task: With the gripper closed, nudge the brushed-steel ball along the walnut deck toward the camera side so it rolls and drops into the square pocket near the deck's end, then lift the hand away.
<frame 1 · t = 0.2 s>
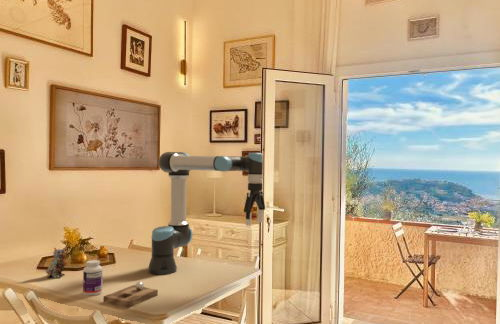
hand: (254, 223, 214), 28 cm above the table, fingers open, 13 cm apart
ball: (139, 289, 184), point 2 cm above the table, touching deck
figurine: (56, 276, 212), on the table
deck: (131, 298, 180), on the table
pill bottle: (92, 293, 186), on the table
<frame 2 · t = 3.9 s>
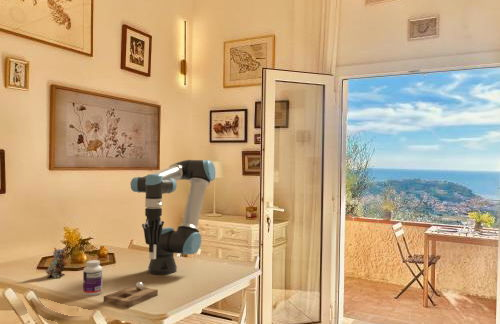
hand: (152, 258, 192), 15 cm above the table, fingers closed
nothing on the table moved.
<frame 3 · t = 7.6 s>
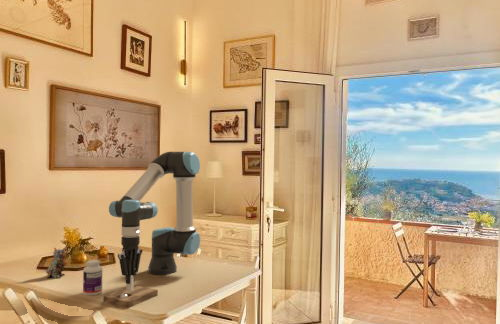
hand: (129, 290, 179), 4 cm above the table, fingers closed
ball: (123, 302, 175), resting in deck, tilted 16°
everything else where it was.
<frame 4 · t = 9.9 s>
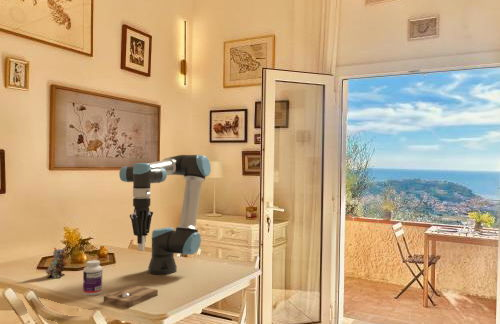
hand: (141, 250, 185), 20 cm above the table, fingers closed
ball: (123, 300, 176), point 1 cm above the table, tilted 54°
everything else where it was.
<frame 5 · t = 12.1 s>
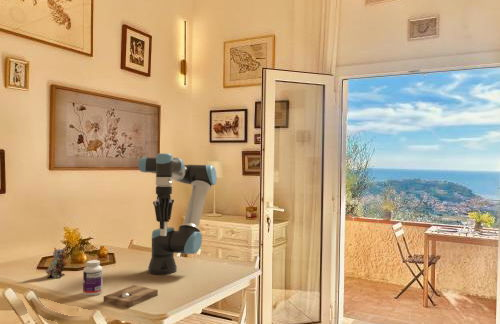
hand: (163, 235, 197), 24 cm above the table, fingers closed
ball: (123, 300, 176), point 1 cm above the table, tilted 47°
everything else where it was.
at the end: ball 0.8 cm from the target spot on the deck, point 0.5 cm above the deck's base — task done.
